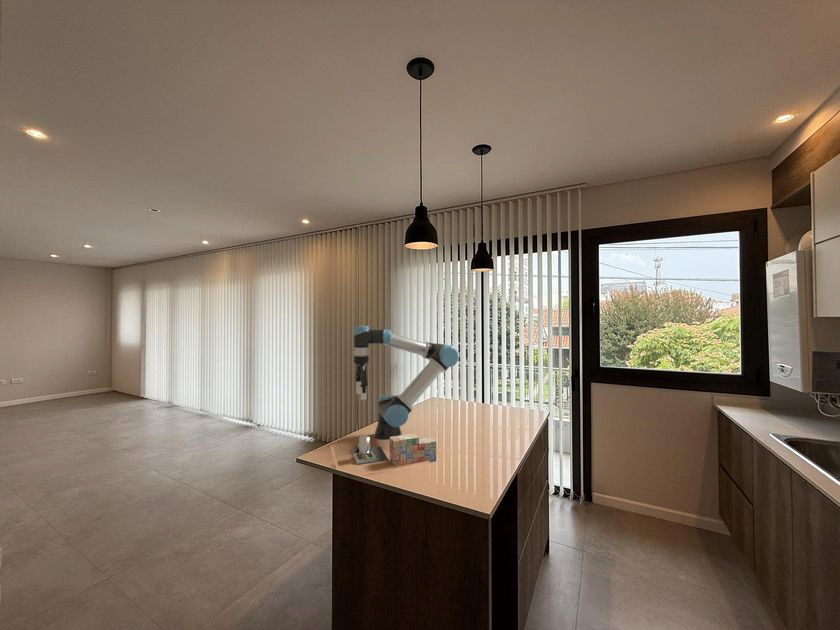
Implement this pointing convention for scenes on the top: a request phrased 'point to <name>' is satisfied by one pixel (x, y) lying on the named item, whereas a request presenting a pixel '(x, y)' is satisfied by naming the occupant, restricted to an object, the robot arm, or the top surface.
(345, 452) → the top surface
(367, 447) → the cylinder
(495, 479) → the top surface
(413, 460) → the stack of blocks
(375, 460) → the panel
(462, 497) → the top surface
